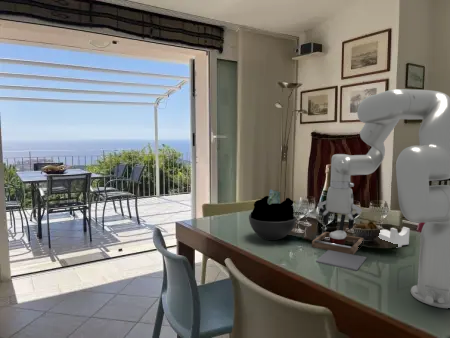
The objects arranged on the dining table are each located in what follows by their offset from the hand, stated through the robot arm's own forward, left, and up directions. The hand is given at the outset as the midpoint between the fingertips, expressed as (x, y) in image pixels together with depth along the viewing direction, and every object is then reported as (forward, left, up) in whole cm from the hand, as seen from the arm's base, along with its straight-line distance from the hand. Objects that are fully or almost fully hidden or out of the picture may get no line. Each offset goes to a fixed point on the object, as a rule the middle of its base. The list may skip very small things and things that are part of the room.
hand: (338, 226), depth 140 cm
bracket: (+17, -17, -8) cm, 26 cm away
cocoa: (0, 0, -8) cm, 8 cm away
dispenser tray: (0, 0, -8) cm, 8 cm away
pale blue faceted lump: (+25, +44, -8) cm, 52 cm away
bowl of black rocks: (-8, +26, -8) cm, 28 cm away
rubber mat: (-16, -6, -8) cm, 19 cm away
